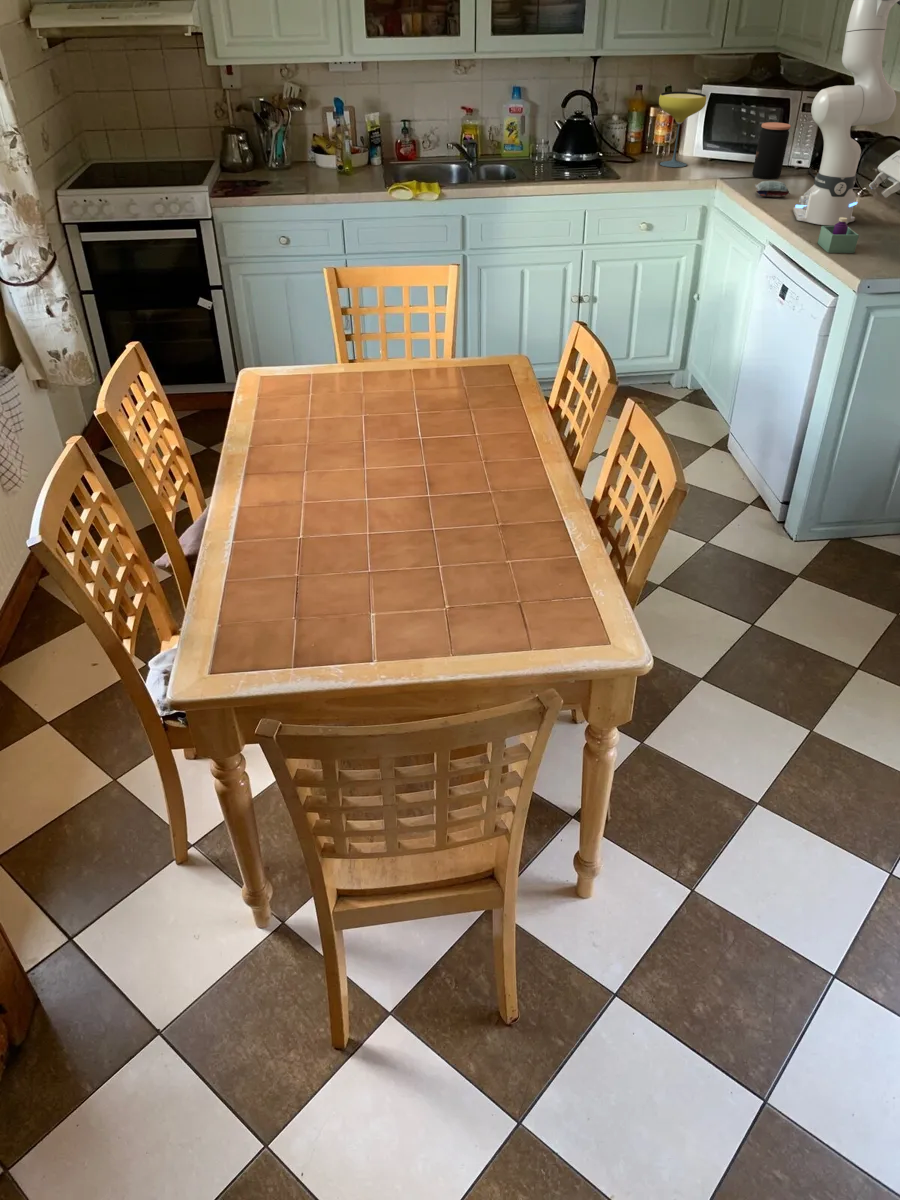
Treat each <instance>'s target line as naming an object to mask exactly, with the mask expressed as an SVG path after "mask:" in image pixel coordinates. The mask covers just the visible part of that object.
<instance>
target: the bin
mask: <svg viewBox="0 0 900 1200" xmlns="http://www.w3.org/2000/svg"><path fill="white" fill-rule="evenodd" d="M834 226H835V225H821V227H820V231H819V234H818V239H817V245H818V246H819V247H821V248H822V249H823V250H824V251H825V252H826V253H828V254H855V251H856V248H857V244H858V240H859V237H860V234H858V233H857V232H855V231H854V230H853V229H852V228H850V227H849V226H848V229H847V233H846V235H833V230H834Z"/></svg>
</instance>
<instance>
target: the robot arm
mask: <svg viewBox="0 0 900 1200" xmlns="http://www.w3.org/2000/svg"><path fill="white" fill-rule="evenodd" d="M896 4H897V5H898V6H900V0H853V2H852V4H851V8H850V12H849V15H848V19H847V23H846V29H845V33H844V34H845V35H844V42H843V47H842V54H841V63H842V65H843V67H844V68H845V69H846V70H847V71H849V72H850V73H851V74H852V77H853V80H854V84H851V85H849V84H847V85H846V84H845V85H834V86H829V87H826V88H822V89H821V90H819V91H818V92H817V94H816V95H815V97H814V98H813V100H812V103H811V108H810V112H811V113H810V114H811V117H812V120H813V122H814V123H815V124H816V125H817V126H818V127H819V129H820V132H821V134H822V139H823V150H822V156H821V161H820V164H819V165H818V166H816V167H817V168H819V170H818V172H817V174H816V175H815V174H814V173H813V172H812V170H813V168H814V167H812V166H811V167H812V168H811V167H810V168H809V169H808V173H809V174H810V176H811V177H812V178H814V181H813V185H812V186H811V187H810V188H808V189H807V190H806V191H805V192H804V193H803V195H800V196H799V201H798V203H799V204H795V206H793V208H792V211H793V214H794V217H795V219H796V221H799V222H804V223H805V222H806V223H810V224H815V225H819V226H820V225H821V226H835V224H837V223H838V222H839V218H840V217H845V218H847V221H846V224H847V225H848V224H849V223H852V222H854V221H856V217H855V216H853V211H854V206H856V205H857V204H858V201H856V196H857V195H856V194H857V193H855V192H854V190H853V189H854V187H855V183H856V179H857V169H858V165H859V162H860V158H861V153H862V149H861V148H862V147H861V146H860V144H859V143H858V142H857V141H856V140H855V139H853V138H852V137H851V128H852V127H854V126H855V127H857V126H860V127H861V126H873V125H877V124H881V123H885V122H887V121H888V120H889V119H890V118H891V116H892V115H893V113H894V112H895V110H896V106H897V93H896V92H895V90H894V88H893V87H892V86H891V85H890V84H889V83H888V81H887V79H886V77H885V73H884V68H883V55H884V54H883V53H884V46H885V45H884V44H885V38H886V33H887V31H886V30H887V24H888V18H889V14H890V11H891V9H892V8H893V7H894V5H896ZM877 171H878V172H879V173H878V174H877V175H876V177H875V178H874V179H873V180H872V182H870V183H869V184H868V185H869V188H870V189H871V190H872V191H874V190H876V189H878V188H879V186H880V184H881V183H882V182H884V181H885V180H888V181H889V182H892V185H891V186H889V187H886V188H884V189H883V190H881V192H880V193H881V196H882V197H883V198H885V199H886V198H888V197H889V196H891V195H892V194H894V193H896V192H899V191H900V149H899V150H896V151H895V152H894V153H893V154H891V155H890V156H888V157H887V158H886V159H884V160H883V161H882V162H880V164H879V165H878V166H877Z"/></svg>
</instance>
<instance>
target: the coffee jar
mask: <svg viewBox="0 0 900 1200" xmlns="http://www.w3.org/2000/svg"><path fill="white" fill-rule="evenodd" d="M791 127H792V125H791V124H790V123H785V122H776V121H774V122H773V121H770V122H769V121H768V122H762V123H761V130H760V131H759V136H758V142H757V146H756V151H755V152H756V153H755V157H754V162H753V163H754V164H753V167H752V175H753V177H754V178H757V179H761V180H775V179H776V180H777V179H778V178H779V177H780V176H781V174H782V170H783V166H784V161H785V155H786V151H787V146H788V141H789V137H790V129H791Z"/></svg>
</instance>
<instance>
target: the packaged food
mask: <svg viewBox="0 0 900 1200" xmlns="http://www.w3.org/2000/svg"><path fill="white" fill-rule="evenodd" d="M754 187H755V188H756V191H755V193H757V194H758V195H759V196H761V197H767V198H782V197H785V196H788V195H789V196H790V195H791V193H790V191H789V187H787V185H786V183H785V182H783V181H778V180H763V181H762V180H761V181H760V182H759V183H758V184H756V183H755V184H754Z"/></svg>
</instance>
